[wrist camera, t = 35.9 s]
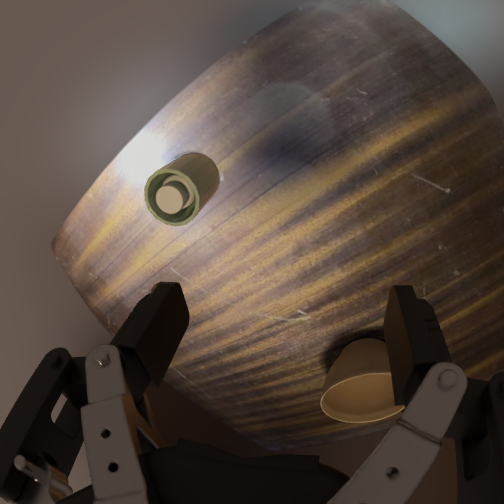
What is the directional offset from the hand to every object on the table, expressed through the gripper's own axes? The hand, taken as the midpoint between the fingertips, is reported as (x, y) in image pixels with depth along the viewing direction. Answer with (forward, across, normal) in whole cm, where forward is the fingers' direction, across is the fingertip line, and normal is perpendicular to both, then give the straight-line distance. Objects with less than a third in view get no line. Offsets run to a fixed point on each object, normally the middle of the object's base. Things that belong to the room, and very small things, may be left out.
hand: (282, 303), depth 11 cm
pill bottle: (+28, +15, +3) cm, 31 cm away
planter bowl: (+28, -11, +36) cm, 47 cm away
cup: (+28, +15, +3) cm, 32 cm away
